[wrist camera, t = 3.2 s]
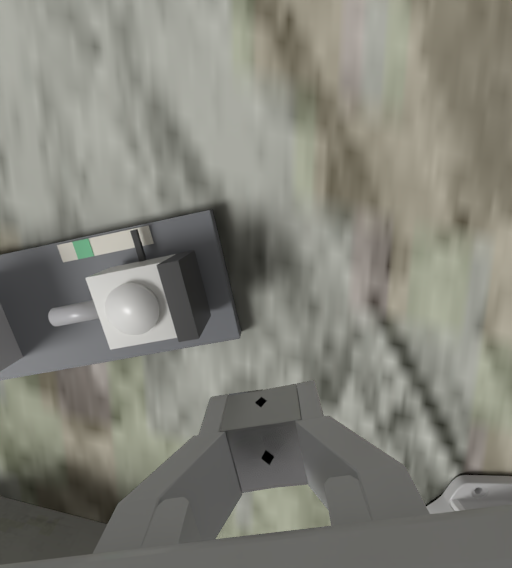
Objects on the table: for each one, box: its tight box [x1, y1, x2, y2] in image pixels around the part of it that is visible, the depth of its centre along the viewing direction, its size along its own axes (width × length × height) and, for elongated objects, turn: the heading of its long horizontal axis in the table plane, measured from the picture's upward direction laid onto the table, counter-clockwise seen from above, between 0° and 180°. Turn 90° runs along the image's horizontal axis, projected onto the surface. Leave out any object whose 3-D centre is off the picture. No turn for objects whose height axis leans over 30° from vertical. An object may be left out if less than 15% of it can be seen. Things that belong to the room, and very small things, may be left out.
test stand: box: [0, 210, 241, 380], centre depth 26 cm, size 25×12×10 cm, turn 102°
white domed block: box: [48, 229, 211, 350], centre depth 26 cm, size 13×9×5 cm
